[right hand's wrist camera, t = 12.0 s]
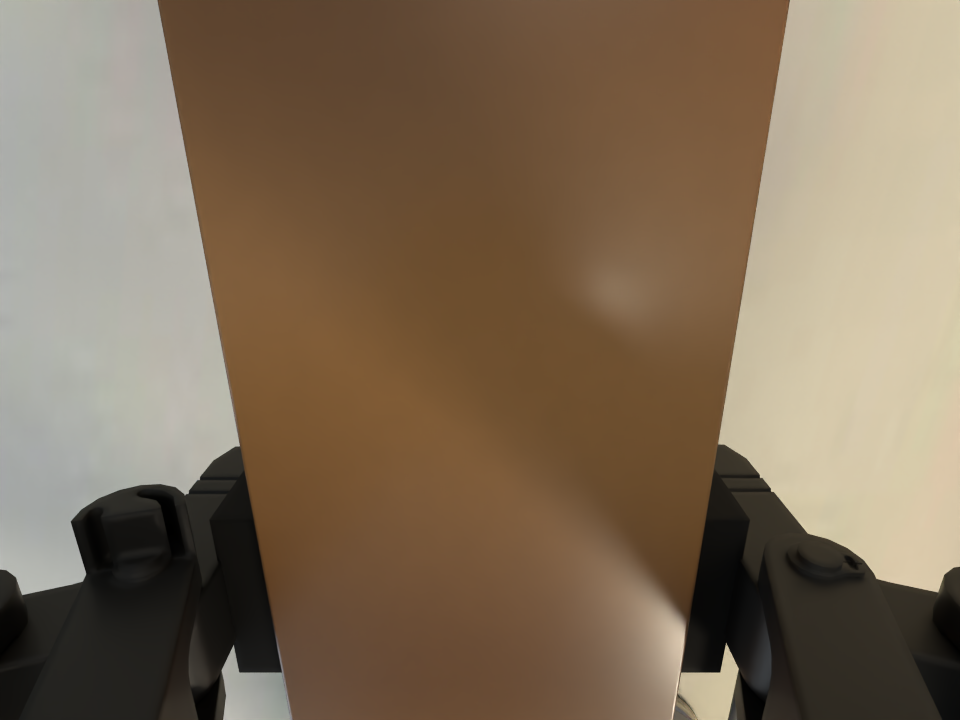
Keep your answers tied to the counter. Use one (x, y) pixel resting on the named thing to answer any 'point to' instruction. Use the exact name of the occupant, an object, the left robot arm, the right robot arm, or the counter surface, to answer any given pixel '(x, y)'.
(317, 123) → the bar
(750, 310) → the counter surface
